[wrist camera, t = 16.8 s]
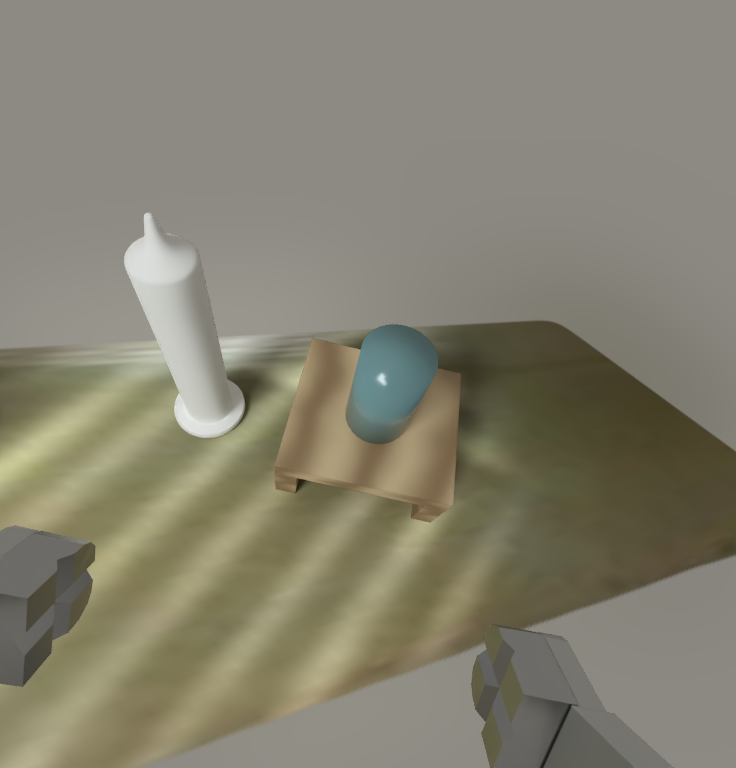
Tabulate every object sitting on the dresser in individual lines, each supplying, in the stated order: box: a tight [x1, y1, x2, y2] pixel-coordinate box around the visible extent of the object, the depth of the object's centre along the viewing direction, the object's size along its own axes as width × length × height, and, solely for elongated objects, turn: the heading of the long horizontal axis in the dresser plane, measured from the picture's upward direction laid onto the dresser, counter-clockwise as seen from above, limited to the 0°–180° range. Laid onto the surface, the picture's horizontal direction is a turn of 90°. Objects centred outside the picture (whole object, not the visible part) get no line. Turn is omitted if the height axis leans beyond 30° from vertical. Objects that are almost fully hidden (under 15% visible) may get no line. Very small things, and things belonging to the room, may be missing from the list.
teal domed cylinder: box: [345, 325, 438, 444], centre depth 37 cm, size 6×6×10 cm
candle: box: [124, 213, 245, 438], centre depth 35 cm, size 7×7×25 cm
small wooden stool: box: [275, 338, 461, 522], centre depth 44 cm, size 16×14×7 cm
